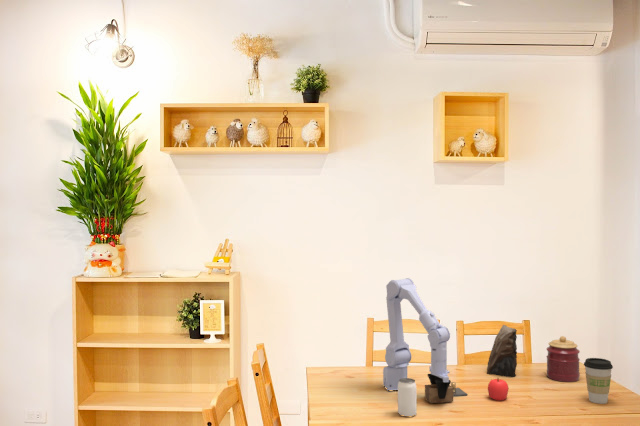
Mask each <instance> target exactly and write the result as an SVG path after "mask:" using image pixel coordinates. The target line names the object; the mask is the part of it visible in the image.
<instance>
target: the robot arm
mask: <svg viewBox="0 0 640 426" xmlns="http://www.w3.org/2000/svg"><path fill="white" fill-rule="evenodd" d="M385 288H386V297H385V298H386V299H385V300H386V309H387V320H388V321H387V322H388V329H389V339H390V340H389V341H390V342H388V345H387V346H386V347H385V354H384V355H385V356H384V359H385V362H386V364H387V366H383V369H382V370H383V371H382V373H383V376H382V378H383V379H382V381H383V384H382V386H383V385H384V386H385V387H386V388H387V389H386V388H385V387H384V386H383V387H384V388H385V389H386V391H388V390H398V383H399V379H402V378H408V366H409V363H410V362H411V361H412V352H411V350H410V346H409V344H408V343H407V342H406V341H405V336H404V328H403V327H404V326H403V317H402V306H401V302H402V301H403V300H407V301H408V302H409V303H410V304H411V306H412V307H413V308H414V310H415V311H416V312H417V314H418V315H419V317H418V320H419V322H420V323H421V325H422V327H423V328H424V329H425V331H426V333H427V339H428V341H429V346H430V366H429V372H430V373H427V377H428V380H429V382H430V385H431V384H436V385H437V389H438V396H439V399H445V397H446V392H447V389H448V387H449V385H450V386H451V382H452V381H451V379H450V377H449V374H450V370H449V369H448V368H447V364H448V363H447V355H448V354H447V353H448V351H447V349H448V348H447V344H448V342H449V340H450V338H451V333H450V331H449V329H448V328H447V327H446V326H443V324H442V323H440V321H439V320H438V318H437V317H436V316H435V313H434V312H433V311H431V310H429V309H427V307H426V306H425V304H424V302H423V301H422V299H421V297H420V296H419V294H418V292H417V286H416V284H415V283H414V281H413V280H412V278H410V277H408V278H401V279H391V280H390V281H389V282H388V283H387V284H386V286H385Z"/></svg>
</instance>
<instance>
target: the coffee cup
mask: <svg viewBox="0 0 640 426" xmlns="http://www.w3.org/2000/svg"><path fill="white" fill-rule="evenodd" d="M583 366H584V367H585V368H584V369H585V378H586V380H585V381H586V387H587V389H586V390H587V393H588V400H589V402H590V403H594V404H602V405H603V404H607V403H608V400H609V393H610V388H611V378H612V369H614V366H613V365H612V362H611V361H610V360H609V359H605V358H601V357H600V358H598V357H588V358H586V359H585V361H584V363H583Z"/></svg>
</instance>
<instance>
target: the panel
mask: <svg viewBox="0 0 640 426" xmlns="http://www.w3.org/2000/svg"><path fill="white" fill-rule="evenodd" d="M450 386H451V387H453V398H454V397H466V396H468V393H467V392H465V390H462V389H461V388H460V387H457V385H456V382H455V381H451V383H450Z"/></svg>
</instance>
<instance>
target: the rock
mask: <svg viewBox="0 0 640 426" xmlns="http://www.w3.org/2000/svg"><path fill="white" fill-rule="evenodd" d="M517 331H518V330H517V329H516V328H513V327H510V326H507V325H506V324H502V325H501V328H500V329H499V331H498V333H497V335H496V336H495V339H494V342H493V345H492V347H491V348H492V349H491V351H490V354H489V357H488V362H487V367H486V375H493V376H500V377H506V378H515V377H516V376H517V374H516V370H517V367H518V366H517V365H518V362H517V358H518V355H517V353H518V352H517V349H518V348H517V339H518V337H517Z"/></svg>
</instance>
